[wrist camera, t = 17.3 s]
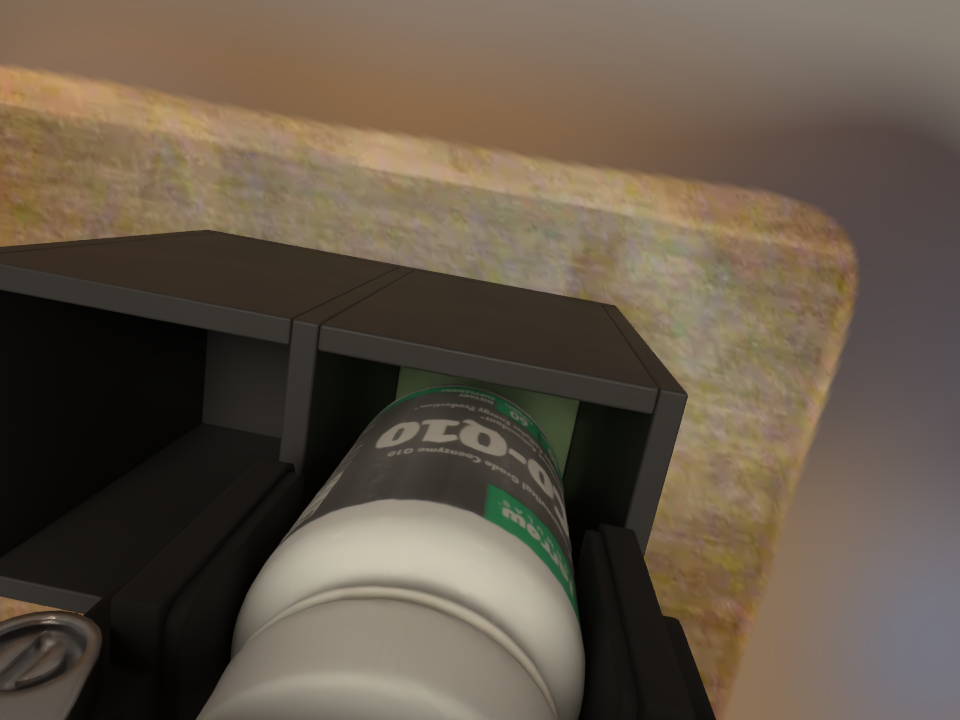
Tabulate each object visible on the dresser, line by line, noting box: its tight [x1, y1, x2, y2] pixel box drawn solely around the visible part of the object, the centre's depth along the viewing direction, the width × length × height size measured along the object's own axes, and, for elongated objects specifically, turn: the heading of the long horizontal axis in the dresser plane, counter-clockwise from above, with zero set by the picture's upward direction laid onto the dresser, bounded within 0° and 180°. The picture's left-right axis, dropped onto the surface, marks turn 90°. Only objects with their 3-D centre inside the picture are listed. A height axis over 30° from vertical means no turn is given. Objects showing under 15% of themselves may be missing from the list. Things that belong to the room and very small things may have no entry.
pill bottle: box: [196, 384, 585, 720], centre depth 10 cm, size 5×5×8 cm
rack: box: [0, 230, 688, 614], centre depth 16 cm, size 14×7×10 cm, turn 80°
